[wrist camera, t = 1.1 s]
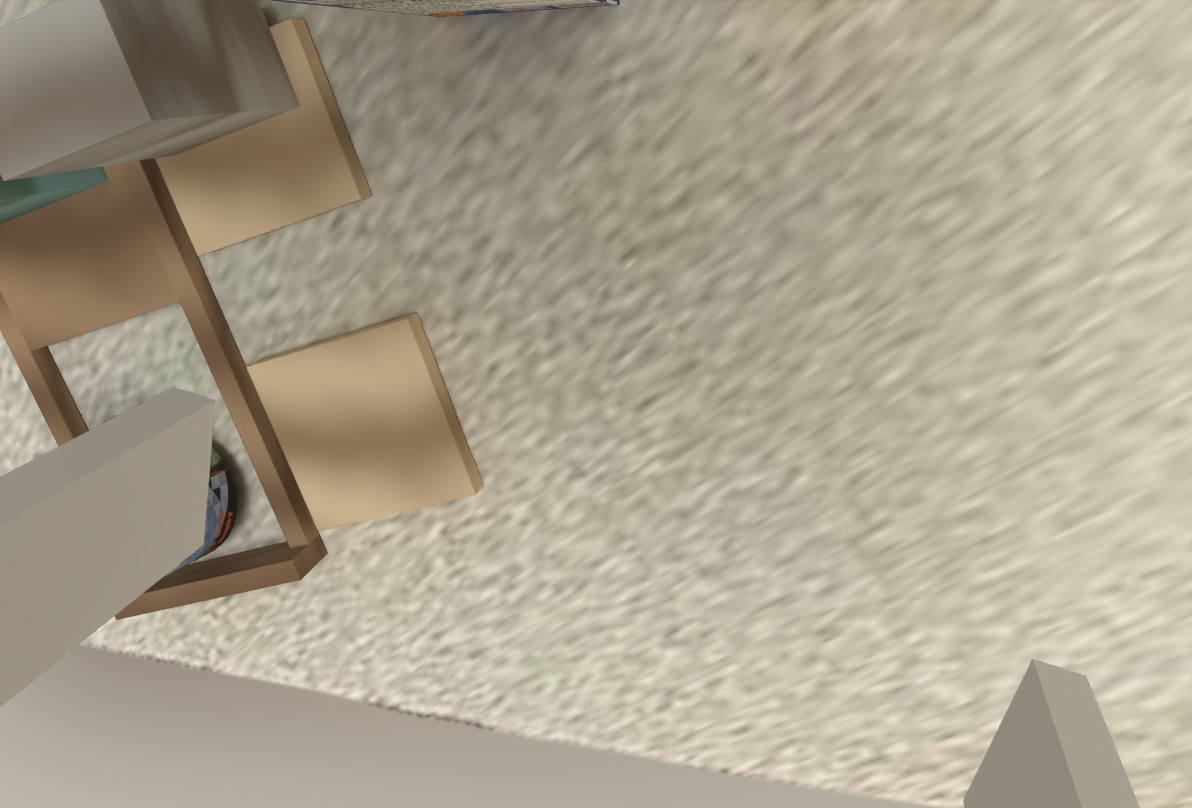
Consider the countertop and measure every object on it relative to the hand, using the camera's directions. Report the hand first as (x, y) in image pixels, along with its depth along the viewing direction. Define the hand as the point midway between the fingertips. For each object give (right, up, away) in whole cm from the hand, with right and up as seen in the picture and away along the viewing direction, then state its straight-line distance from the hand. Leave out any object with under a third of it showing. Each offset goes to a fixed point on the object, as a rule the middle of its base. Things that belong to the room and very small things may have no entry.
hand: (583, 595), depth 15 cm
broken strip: (-12, +8, +26) cm, 29 cm away
